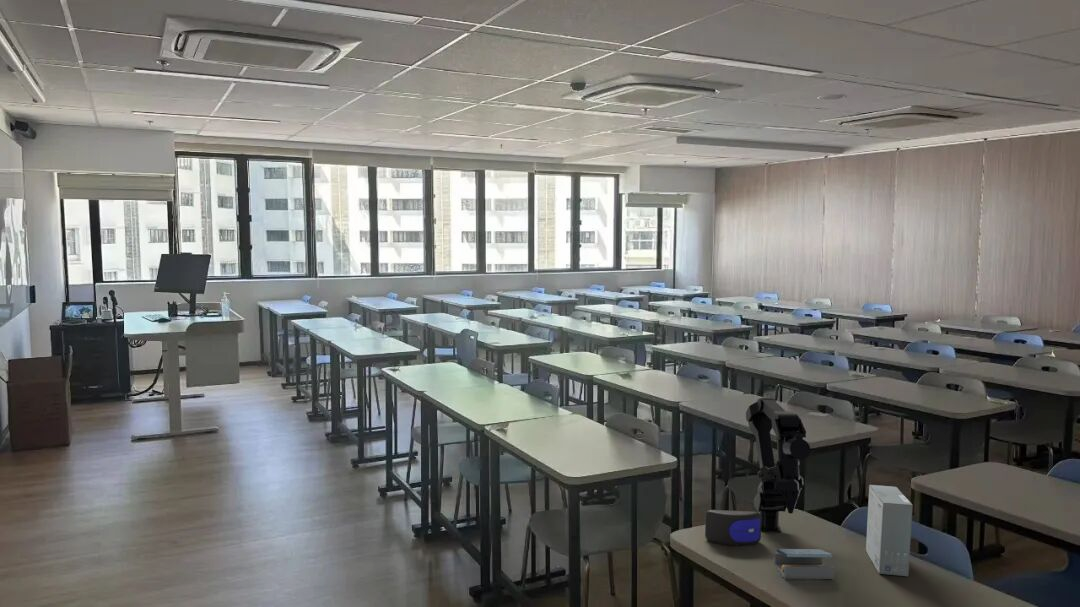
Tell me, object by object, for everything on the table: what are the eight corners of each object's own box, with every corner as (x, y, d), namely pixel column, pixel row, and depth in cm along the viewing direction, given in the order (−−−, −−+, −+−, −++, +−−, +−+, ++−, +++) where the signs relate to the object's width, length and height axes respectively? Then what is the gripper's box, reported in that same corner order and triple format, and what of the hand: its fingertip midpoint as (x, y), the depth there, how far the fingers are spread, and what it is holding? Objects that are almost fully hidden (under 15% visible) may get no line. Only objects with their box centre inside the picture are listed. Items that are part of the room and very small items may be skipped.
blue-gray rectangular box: (776, 552, 197) (776, 549, 197) (820, 552, 197) (820, 549, 197) (786, 556, 189) (786, 553, 189) (832, 557, 189) (831, 554, 189)
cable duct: (774, 564, 197) (774, 552, 197) (821, 565, 197) (821, 552, 197) (784, 579, 189) (785, 566, 188) (833, 579, 189) (834, 567, 188)
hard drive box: (909, 577, 190) (913, 505, 189) (878, 574, 192) (882, 503, 190) (893, 552, 206) (896, 485, 204) (864, 550, 207) (867, 483, 205)
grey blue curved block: (706, 545, 210) (707, 514, 209) (704, 538, 214) (705, 508, 214) (763, 547, 208) (764, 516, 208) (759, 541, 213) (760, 510, 212)
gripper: (763, 454, 217) (765, 507, 215) (754, 458, 200) (756, 515, 198) (802, 456, 213) (804, 510, 210) (796, 459, 196) (799, 518, 193)
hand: (790, 513), depth 203 cm, fingers closed
